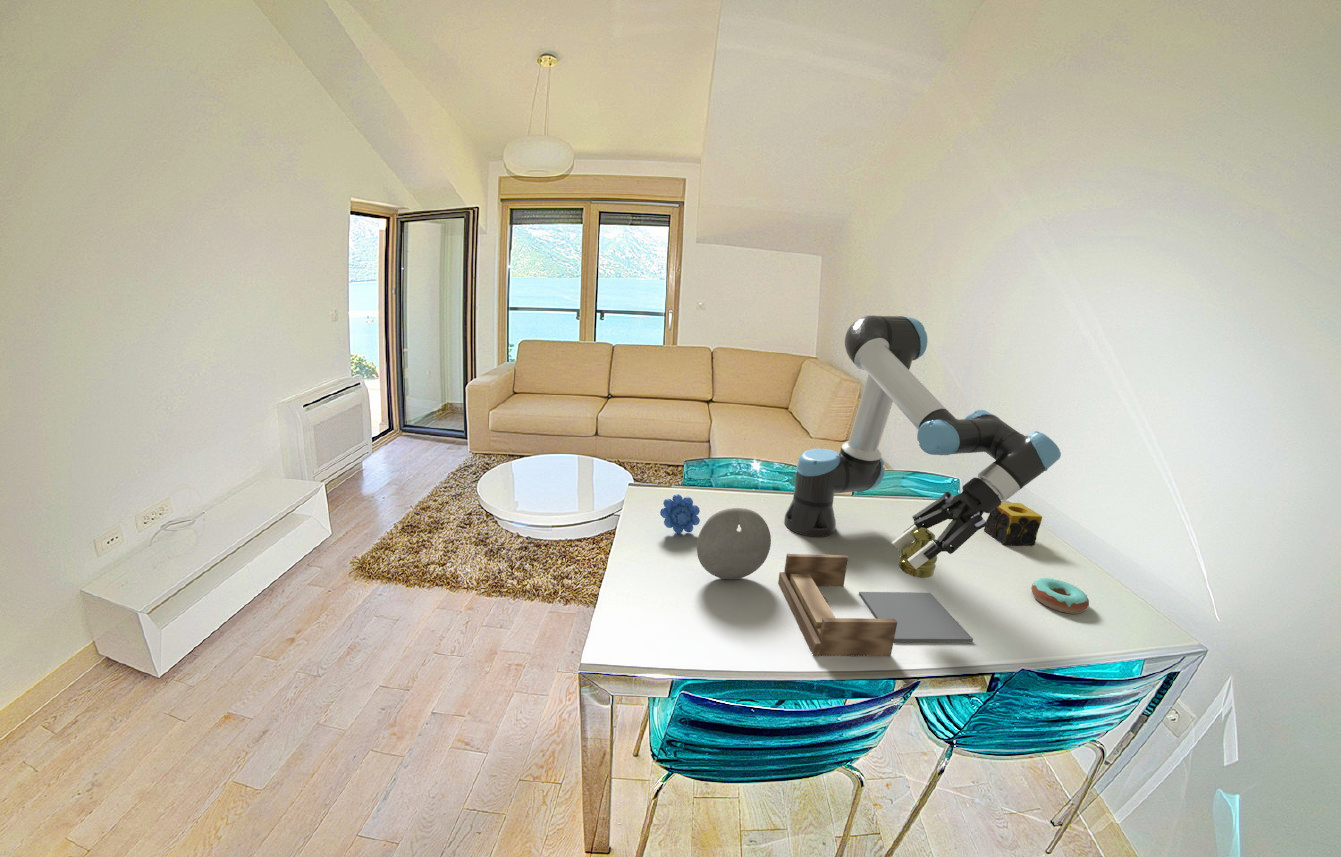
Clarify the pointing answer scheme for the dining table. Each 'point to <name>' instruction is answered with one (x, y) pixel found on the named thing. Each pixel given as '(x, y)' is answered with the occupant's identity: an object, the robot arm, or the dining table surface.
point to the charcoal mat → (915, 616)
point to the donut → (1060, 595)
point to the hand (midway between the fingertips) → (903, 555)
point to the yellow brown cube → (1013, 524)
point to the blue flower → (680, 514)
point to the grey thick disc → (733, 543)
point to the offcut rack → (818, 618)
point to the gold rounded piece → (921, 539)
